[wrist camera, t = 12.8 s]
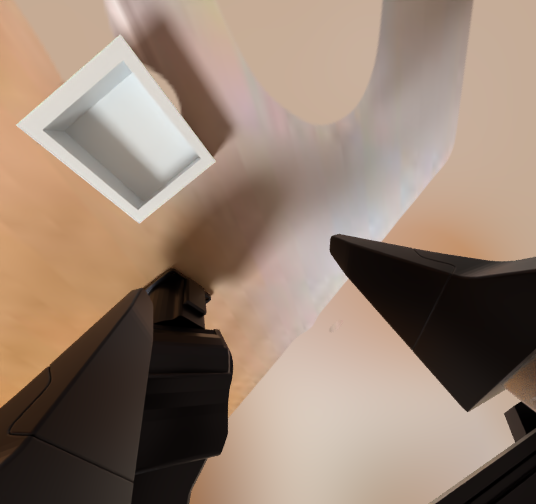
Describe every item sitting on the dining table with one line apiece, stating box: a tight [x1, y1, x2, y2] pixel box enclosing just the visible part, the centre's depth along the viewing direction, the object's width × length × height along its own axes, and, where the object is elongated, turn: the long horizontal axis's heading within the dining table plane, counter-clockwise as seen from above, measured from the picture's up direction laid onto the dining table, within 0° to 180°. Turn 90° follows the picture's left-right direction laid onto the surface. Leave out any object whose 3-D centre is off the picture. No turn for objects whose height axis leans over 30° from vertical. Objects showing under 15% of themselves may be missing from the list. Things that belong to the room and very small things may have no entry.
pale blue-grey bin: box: [16, 34, 216, 223], centre depth 15 cm, size 8×8×3 cm
